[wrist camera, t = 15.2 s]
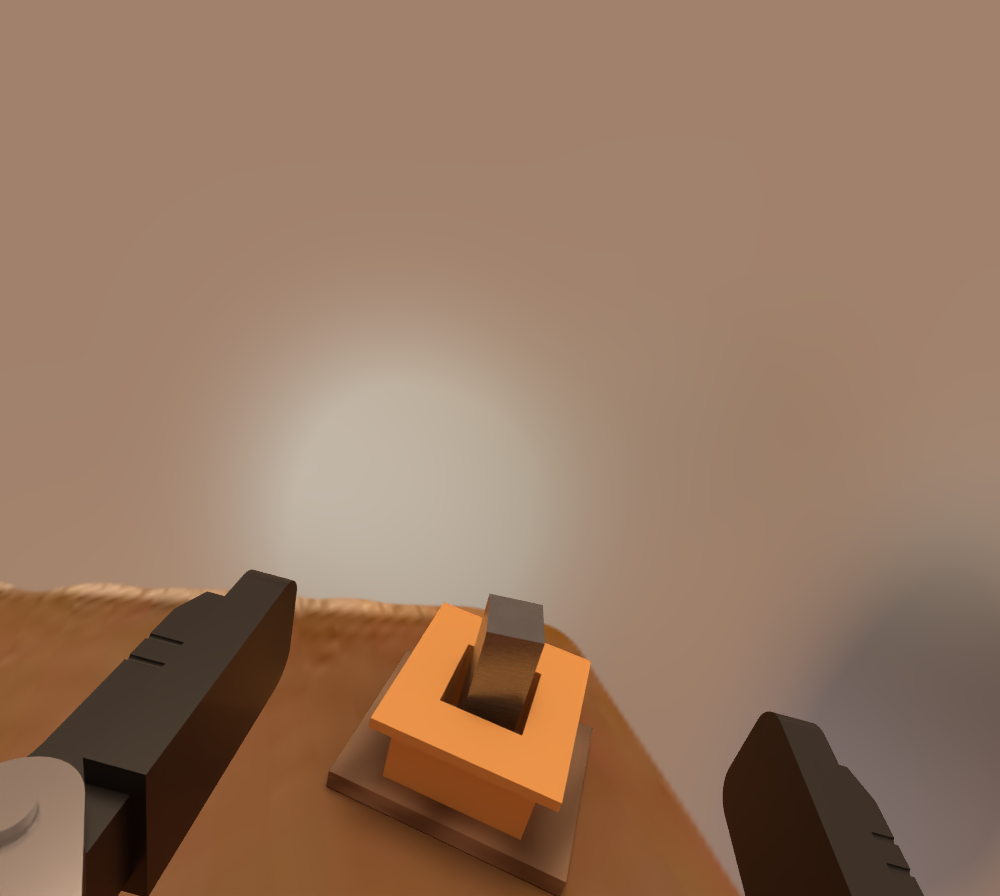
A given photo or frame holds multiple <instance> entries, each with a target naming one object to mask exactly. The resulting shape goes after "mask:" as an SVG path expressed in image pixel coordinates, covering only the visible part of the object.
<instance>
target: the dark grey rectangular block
mask: <svg viewBox="0 0 1000 896" xmlns="http://www.w3.org/2000/svg"><path fill="white" fill-rule="evenodd" d="M544 645H545V638H544V621H543V605H539V604H535V603H530V602H526V601H521V600H516V599H511V598H507V597H502V596H497V595H493V594H490V595H489V598H488V601H487V605H486V608H485V612H484V615H483V619H482V622H481V625H480V629H479V632H478V636H477V639H476V643H475V646H474V650H473V653H472V657H471V660H470V664H469V667H468V670H467V674H466V677H465V681H464V684H463V688H462V691H461V695H460V698H459V702H458V705H457V708H459V709H461V710H464V711H466V712H468V713H471V714H473V715H475V716H478V717H480V718H482V719H485V720H487V721H489V722H492V723H494V724H496V725H498V726H501V727H503V728H505V729H508V730H510V731H512V732H514V730H515V727H516V724H517V722H518V719H519V716H520V713H521V710H522V707H523V705H524V702H525V699H526V696H527V693H528V690H529V688H530V685H531V682H532V679H533V676H534V673H535V671H536V668H537V665H538V662H539V659H540V656H541V653H542V651H543V648H544Z"/></svg>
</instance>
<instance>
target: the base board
mask: <svg viewBox="0 0 1000 896" xmlns="http://www.w3.org/2000/svg"><path fill="white" fill-rule="evenodd" d="M411 654H412V652H411V651H407V652H406V654H405V655H404V657H403V658H402V660H401V661H400V663H399V664H398V666H397V667H396V669H395V671H394V672H393V674H392V675H391V677H390V678H389V680H388V681H387V683H386V684H385V686H384V687H383V689H382V691H381V692H380V694H379V695H378V697H377V698H376V700H375V701H374V703H373V704H372V706H371V707H370V709H369V710H368V712H367V714H366V715H365V717H364V718H363V720H362V721H361V723H360V724H359V726H358V727H357V729H356V730H355V732H354V734H353V735H352V737H351V738H350V740H349V741H348V743H347V744H346V746H345V747H344V749H343V750H342V752H341V753H340V755H339V757H338V758H337V760H336V761H335V763H334V764H333V766H332V767H331V769H330V770H329V775H328V780H327V787H329V788H331V789H333V790H336V791H338V792H340V793H342V794H344V795H346V796H348V797H350V798H352V799H354V800H357V801H359V802H361V803H363V804H365V805H367V806H369V807H371V808H373V809H375V810H378V811H380V812H382V813H384V814H386V815H388V816H390V817H392V818H394V819H396V820H399V821H401V822H403V823H405V824H407V825H409V826H411V827H413V828H415V829H417V830H420V831H422V832H424V833H426V834H428V835H430V836H432V837H434V838H436V839H438V840H441V841H443V842H445V843H447V844H449V845H451V846H453V847H455V848H457V849H459V850H462V851H464V852H466V853H468V854H470V855H472V856H474V857H476V858H478V859H480V860H483V861H485V862H487V863H489V864H491V865H493V866H495V867H497V868H499V869H501V870H503V871H506V872H508V873H510V874H512V875H514V876H516V877H518V878H520V879H522V880H524V881H527V882H529V883H531V884H533V885H535V886H537V887H539V888H541V889H543V890H545V891H548V892H550V893H552V894H554V895H556V896H560V894H561V892H562V890H563V888H564V886H565V884H566V880H567V874H568V868H569V862H570V856H571V851H572V845H573V839H574V833H575V828H576V822H577V816H578V810H579V804H580V799H581V793H582V787H583V781H584V775H585V770H586V764H587V758H588V752H589V746H590V741H591V735H592V729H593V728H592V727H589V726H587V725H585V724H582V723H580V722H579V723H578V728H577V732H576V737H575V742H574V747H573V752H572V757H571V762H570V767H569V772H568V777H567V782H566V786H565V791H564V796H563V801H562V805H561V807H560V809H559V812H556V811H554V810H551V809H549V808H547V807H545V806H543V805H540V804H538V803H535V806H534V808H533V810H532V813H531V815H530V818H529V820H528V823H527V825H526V828H525V830H524V833H523V835H522V838H521V840H519V839H517V838H515V837H513V836H511V835H509V834H506V833H504V832H502V831H500V830H498V829H496V828H494V827H491V826H489V825H487V824H485V823H483V822H481V821H478V820H476V819H474V818H472V817H470V816H468V815H466V814H463V813H461V812H459V811H457V810H455V809H453V808H450V807H448V806H446V805H444V804H442V803H440V802H438V801H435V800H433V799H431V798H429V797H427V796H425V795H422V794H420V793H418V792H416V791H414V790H412V789H410V788H407V787H405V786H403V785H401V784H399V783H397V782H394V781H392V780H390V779H388V778H386V777H384V776H383V772H384V767H385V763H386V759H387V754H388V750H389V746H390V741H391V737H389V736H387V735H385V734H383V733H381V732H378V731H376V730H374V729H372V728H369V723H370V718H371V716H372V715H373V713H374V712H375V710H376V709H377V707H378V705H379V704H380V702H381V701H382V699H383V698H384V696H385V694H386V693H387V691H388V690H389V688H390V687H391V685H392V683H393V682H394V680H395V679H396V677H397V676H398V674H399V672H400V671H401V669H402V668H403V666H404V665H405V663H406V661H407V660H408V658H409V657H410V655H411ZM451 705H452V706H454V707H457V705H455V704H453V703H452V704H451ZM514 732H515V733H517V734H519V735H520V732H518V731H515V730H514Z"/></svg>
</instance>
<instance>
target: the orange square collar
mask: <svg viewBox="0 0 1000 896" xmlns="http://www.w3.org/2000/svg"><path fill="white" fill-rule="evenodd" d="M482 619H483V618H481V617H479V616H476V615H474V614H471V613H469V612H466V611H464V610H461V609H459V608H456V607H454V606H451V605H449V604H446V603H443V605H442V606H441V608H440V610H439V611H438V613H437V614H436V616H435V617H434V619H433V621H432V622H431V624H430V625H429V627H428V628H427V630H426V632H425V633H424V635H423V636H422V638H421V639H420V641H419V643H418V644H417V646H416V647H415V649H414V650H413V652H412V654H411V655H410V657H409V658H408V660H407V661H406V663H405V665H404V666H403V668H402V669H401V671H400V672H399V674H398V676H397V677H396V679H395V680H394V682H393V683H392V685H391V687H390V688H389V690H388V691H387V693H386V694H385V696H384V698H383V699H382V701H381V702H380V704H379V705H378V707H377V709H376V710H375V712H374V713H373V715H372V716H371V718H370V723H369V728H372V729H374V730H376V731H378V732H381V733H383V734H385V735H387V736H389V737H391V741H390V746H389V750H388V754H387V759H386V763H385V767H384V772H383V776H384V777H386V778H388V779H390V780H392V781H394V782H397V783H399V784H401V785H403V786H405V787H407V788H410V789H412V790H414V791H416V792H418V793H420V794H422V795H425V796H427V797H429V798H431V799H433V800H435V801H438V802H440V803H442V804H444V805H446V806H448V807H450V808H453V809H455V810H457V811H459V812H461V813H463V814H466V815H468V816H470V817H472V818H474V819H476V820H478V821H481V822H483V823H485V824H487V825H489V826H491V827H494V828H496V829H498V830H500V831H502V832H504V833H506V834H509V835H511V836H513V837H515V838H517V839H519V840H521V838H522V835H523V833H524V830H525V828H526V825H527V823H528V820H529V818H530V815H531V813H532V810H533V808H534V806H535V803H538V804H540V805H543V806H545V807H547V808H549V809H551V810H554V811H556V812H559V809H560V807H561V805H562V801H563V796H564V791H565V786H566V782H567V777H568V772H569V767H570V762H571V757H572V752H573V747H574V742H575V737H576V732H577V728H578V723H579V718H580V713H581V708H582V703H583V698H584V693H585V688H586V683H587V678H588V674H589V669H590V664H591V661H589V660H586V659H584V658H581V657H579V656H576V655H574V654H571V653H569V652H566V651H564V650H561V649H559V648H556V647H554V646H551V645H549V644H546V643H545V645H544V648H543V651H542V653H541V656H540V659H539V662H538V665H537V668H536V671H535V673H534V676H533V679H532V682H531V685H530V688H529V690H528V693H527V696H526V699H525V702H524V705H523V707H522V710H521V713H520V716H519V719H518V722H517V724H516V727H515V731H518V732H520V735H519V734H517V733H515V732H512V731H510V730H508V729H505V728H503V727H501V726H498V725H496V724H494V723H492V722H489V721H487V720H485V719H482V718H480V717H478V716H475V715H473V714H471V713H468V712H466V711H464V710H461V709H459V708H457V707H454V706H452V705H451V704H452V703H453V704H455V705H458V702H459V698H460V695H461V691H462V688H463V684H464V681H465V677H466V674H467V670H468V667H469V664H470V660H471V657H472V653H473V650H474V646H475V643H476V639H477V636H478V632H479V629H480V625H481V622H482Z"/></svg>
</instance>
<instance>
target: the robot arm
mask: <svg viewBox="0 0 1000 896" xmlns="http://www.w3.org/2000/svg"><path fill="white" fill-rule="evenodd" d="M296 592H297V585H296V582H295V581H292V580H289V579H286V578H282V577H278V576H274V575H271V574H267V573H263V572H260V571H256V570H249V571H248V572H246V573H245V574H244V575H243V576H242V577H241V579H240V580H239V581H238V582H237V583H236V584H235V585H234V586H233V588H232V589H231V590H230V591H229V592H228V593H227V594H226V595H225V596H222V595H218V594H214V593H211V592H205V593H203V594H202V595H200V596H198V597H196V598H194V599H192V600H190V601H188V602H186V603H185V604H183V605H181V606H179V607H177V608H175V609H174V610H173V611H172V612H171V613H170V614H169V615H168V616H167V617H166V618H165V619H164V620H163V621H162V622H161V623H160V624H159V625H158V626H157V627H156V628H155V629H154V630H153V631H152V632H151V634H150V637H149V638H148V639H147V638H145V639H144V640H143V641H142V642H141V643H140V645H139V646H138V647H137V648H136V649H135V650H134V651H133V652H132V653H131V654H130V657H129V658H128V660H124V661H123V662H122V663H121V664H120V665H119V666H118V667H117V668H116V669H115V670H114V671H113V672H112V673H111V674H110V675H109V676H108V677H107V678H106V679H105V680H104V681H103V682H102V683H101V684H100V685H99V686H98V687H97V688H96V689H95V690H94V691H93V692H92V693H91V695H90V696H89V697H88V698H87V699H86V700H85V701H84V702H83V703H82V704H81V705H80V706H79V707H78V708H77V709H76V710H75V711H74V712H73V713H72V714H71V715H70V716H69V717H68V718H67V719H66V720H65V721H64V722H63V723H62V724H61V725H60V726H59V727H58V728H57V729H56V730H55V731H54V732H53V733H52V734H51V735H50V736H49V737H48V738H47V739H46V740H45V741H44V742H43V743H42V744H41V745H40V746H39V747H38V748H37V749H36V750H35V751H34V752H33V753H31V754H30V755H29V756H27V757H24V758H19V759H13V760H10V761H6V762H3V763H0V896H118V895H119V893H120V892H121V891H124V892H128V893H132V894H135V895H139V896H149V895H150V893H151V891H152V890H153V888H154V886H155V885H156V883H157V882H158V880H159V878H160V877H161V875H162V873H163V872H164V870H165V868H166V867H167V865H168V863H169V862H170V860H171V859H172V857H173V855H174V854H175V852H176V850H177V849H178V847H179V845H180V844H181V842H182V841H183V839H184V837H185V836H186V834H187V832H188V831H189V829H190V827H191V826H192V824H193V822H194V821H195V819H196V818H197V816H198V814H199V813H200V811H201V809H202V808H203V806H204V804H205V803H206V801H207V800H208V798H209V796H210V795H211V793H212V791H213V790H214V788H215V786H216V785H217V783H218V781H219V780H220V778H221V777H222V775H223V773H224V772H225V770H226V768H227V767H228V765H229V763H230V762H231V760H232V758H233V757H234V755H235V754H236V752H237V750H238V749H239V747H240V745H241V744H242V742H243V740H244V739H245V737H246V736H247V734H248V732H249V731H250V729H251V727H252V726H253V724H254V722H255V721H256V719H257V717H258V716H259V714H260V713H261V711H262V709H263V708H264V706H265V704H266V703H267V701H268V699H269V698H270V696H271V695H272V693H273V691H274V690H275V688H276V686H277V684H278V682H279V680H280V678H281V676H282V673H283V671H284V668H285V665H286V662H287V659H288V655H289V650H290V643H291V634H292V626H293V618H294V610H295V601H296ZM723 808H724V813H725V818H726V822H727V825H728V829H729V833H730V837H731V841H732V845H733V849H734V853H735V856H736V861H737V865H738V868H739V872H740V876H741V880H742V884H743V888H744V892H745V896H924V895H923V893H922V891H921V889H920V887H919V885H918V884H917V881H916V879H915V878H914V877H911V876H910V873H909V872H910V868H909V866H908V864H907V862H906V860H905V858H904V856H903V854H902V852H901V850H900V848H899V846H898V845H895V844H894V841H893V840H894V837H893V835H892V833H891V831H890V829H889V827H888V825H887V823H886V821H885V819H884V818H883V815H882V813H881V811H880V809H879V807H878V806H877V804H876V802H875V800H874V799H873V798H872V797H871V796H870V794H869V793H868V792H867V791H866V790H865V789H864V787H863V786H862V785H861V784H860V782H859V781H858V780H857V779H856V778H855V777H854V775H853V774H852V773H851V772H850V770H849V769H848V768H847V767H844V766H841V765H839V764H838V762H837V760H836V758H835V756H834V754H833V752H832V750H831V747H830V745H829V743H828V741H827V739H826V737H825V735H824V733H823V732H822V730H821V729H820V728H819V727H818V726H817V725H816V724H814V723H810V722H807V721H803V720H799V719H795V718H791V717H788V716H784V715H780V714H777V713H774V712H765V713H763V714H762V715H761V716H760V717H759V719H758V721H757V722H756V724H755V725H754V727H753V729H752V731H751V732H750V734H749V735H748V737H747V739H746V741H745V742H744V744H743V746H742V747H741V749H740V751H739V752H738V754H737V756H736V757H735V759H734V761H733V763H732V764H731V766H730V768H729V769H728V772H727V774H726V777H725V781H724V786H723Z"/></svg>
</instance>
